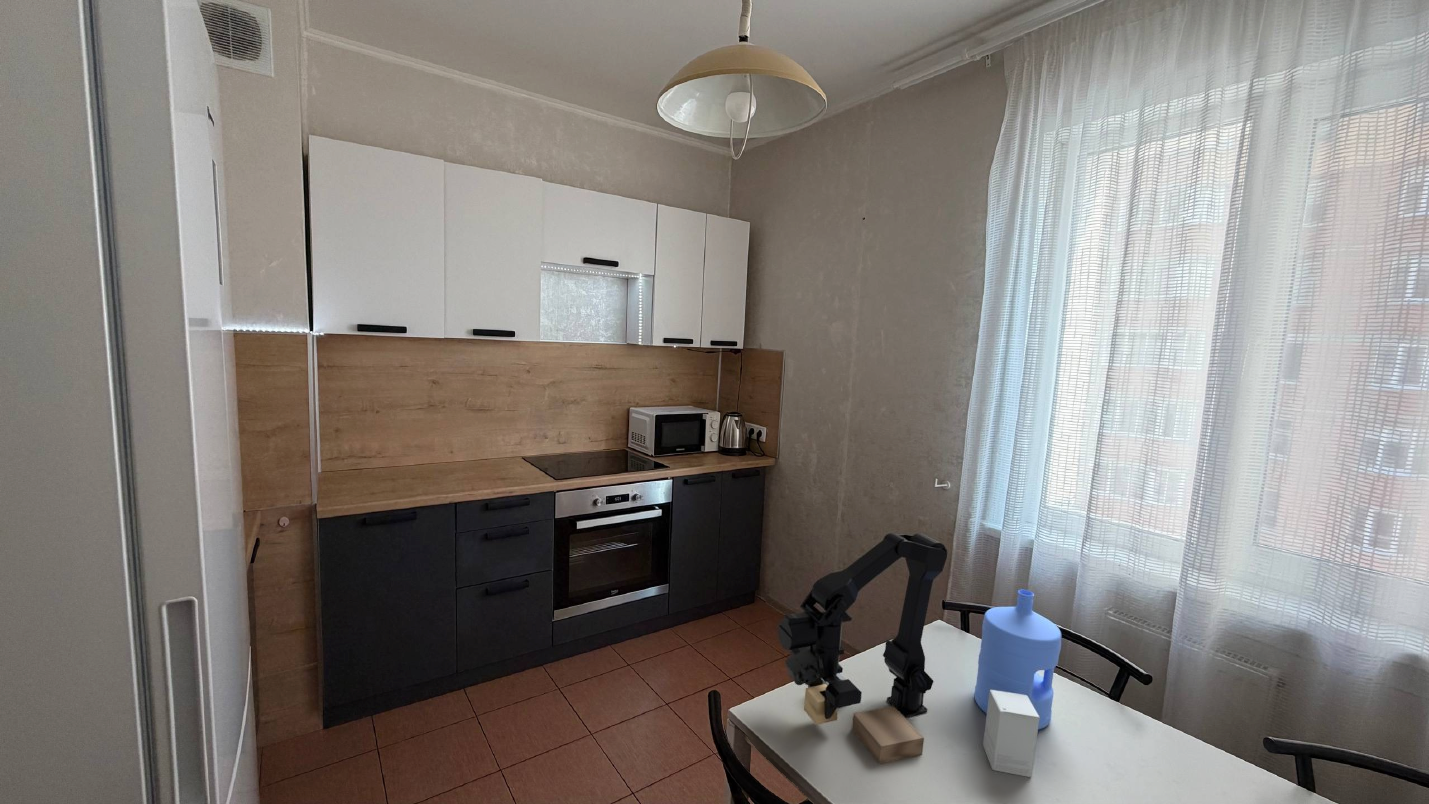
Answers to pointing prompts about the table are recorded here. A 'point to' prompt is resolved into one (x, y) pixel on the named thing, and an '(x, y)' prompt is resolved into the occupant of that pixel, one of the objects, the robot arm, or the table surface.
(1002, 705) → the supplement box
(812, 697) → the oak cube
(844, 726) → the table surface
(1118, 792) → the table surface
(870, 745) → the walnut block
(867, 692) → the table surface
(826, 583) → the robot arm
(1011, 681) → the water jug
